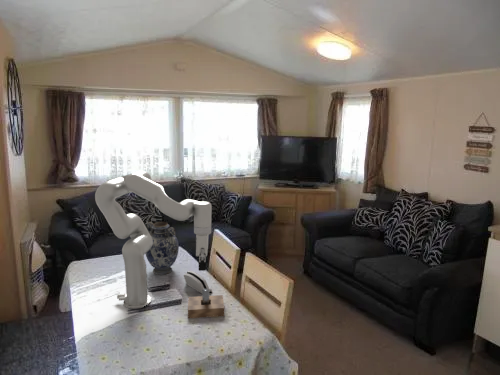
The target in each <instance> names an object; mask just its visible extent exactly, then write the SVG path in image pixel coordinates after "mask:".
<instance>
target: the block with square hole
mask: <svg viewBox="0 0 500 375" xmlns="http://www.w3.org/2000/svg"><path fill="white" fill-rule="evenodd" d="M187 297H188V298H187V300H188V301H187V319H197V318H198V319H200V318H217V317H225V305H224V296H223V294H219V295H209V305H203V299H202V295H201V296H200V295H199V296H198V295H197V296H187Z"/></svg>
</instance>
